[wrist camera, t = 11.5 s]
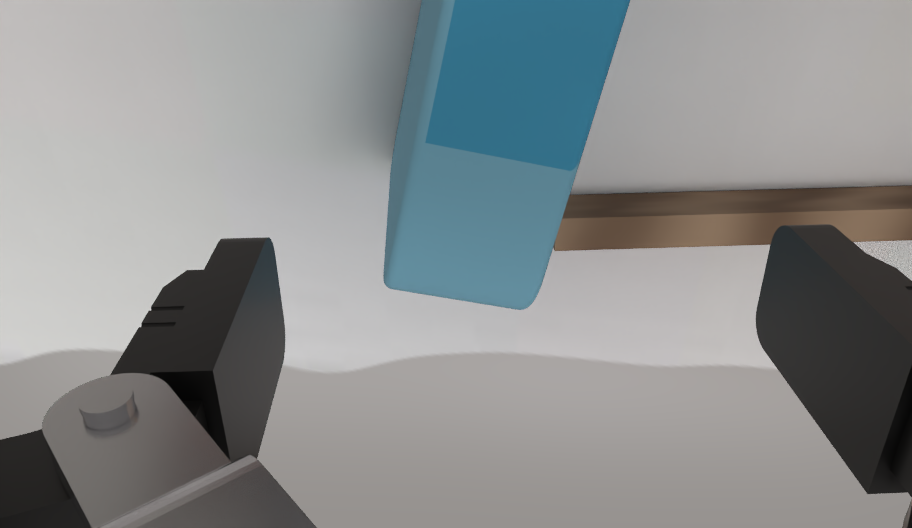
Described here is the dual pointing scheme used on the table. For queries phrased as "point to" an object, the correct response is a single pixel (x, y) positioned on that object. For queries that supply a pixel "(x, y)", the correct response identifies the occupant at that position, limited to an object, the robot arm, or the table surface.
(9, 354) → the table surface
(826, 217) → the walnut u-shaped frame
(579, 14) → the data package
